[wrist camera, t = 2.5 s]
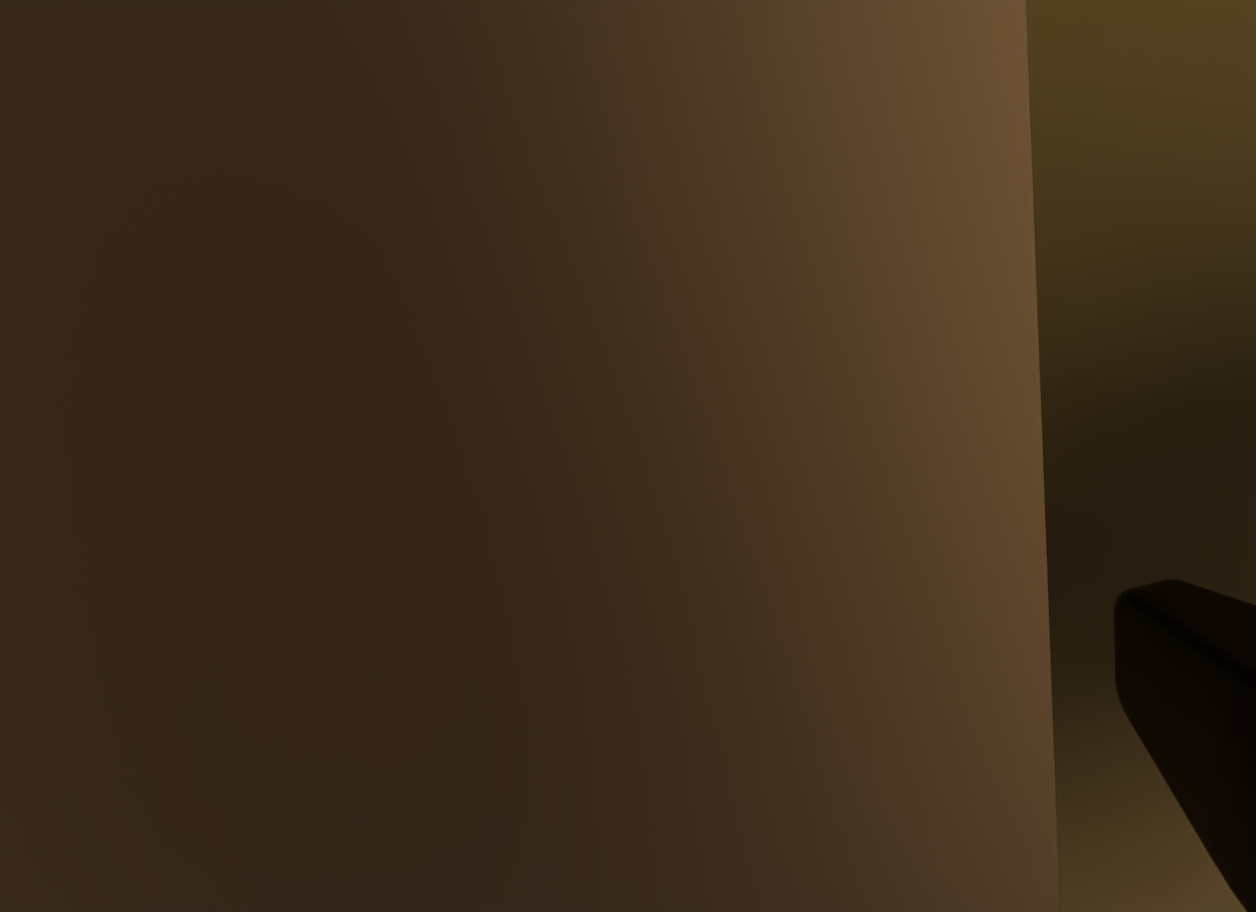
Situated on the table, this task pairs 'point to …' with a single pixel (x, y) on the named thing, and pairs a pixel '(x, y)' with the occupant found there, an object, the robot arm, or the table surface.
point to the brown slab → (521, 458)
